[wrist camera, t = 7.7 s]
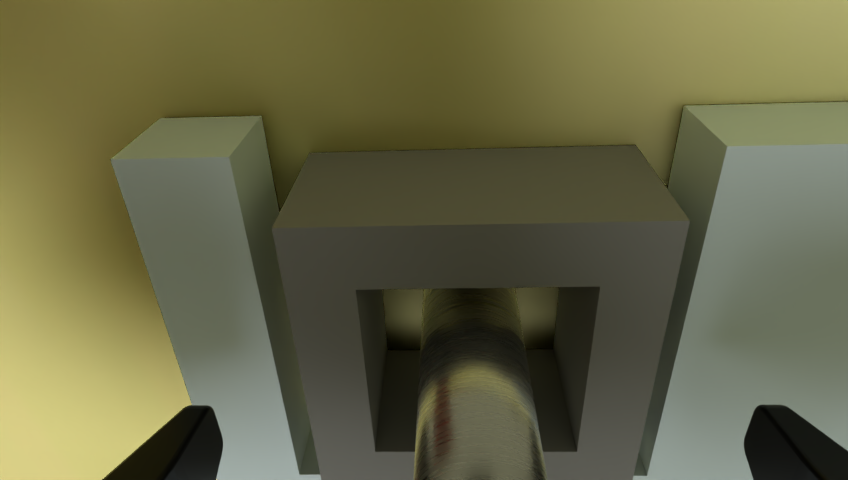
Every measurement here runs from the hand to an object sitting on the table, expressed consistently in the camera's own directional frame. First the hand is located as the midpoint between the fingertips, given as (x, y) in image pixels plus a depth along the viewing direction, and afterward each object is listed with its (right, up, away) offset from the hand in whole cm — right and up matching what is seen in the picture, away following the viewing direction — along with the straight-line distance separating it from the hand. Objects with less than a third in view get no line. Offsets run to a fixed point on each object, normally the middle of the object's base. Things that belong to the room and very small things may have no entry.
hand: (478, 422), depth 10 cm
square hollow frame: (0, +2, +3) cm, 4 cm away
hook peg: (0, +2, +3) cm, 4 cm away
